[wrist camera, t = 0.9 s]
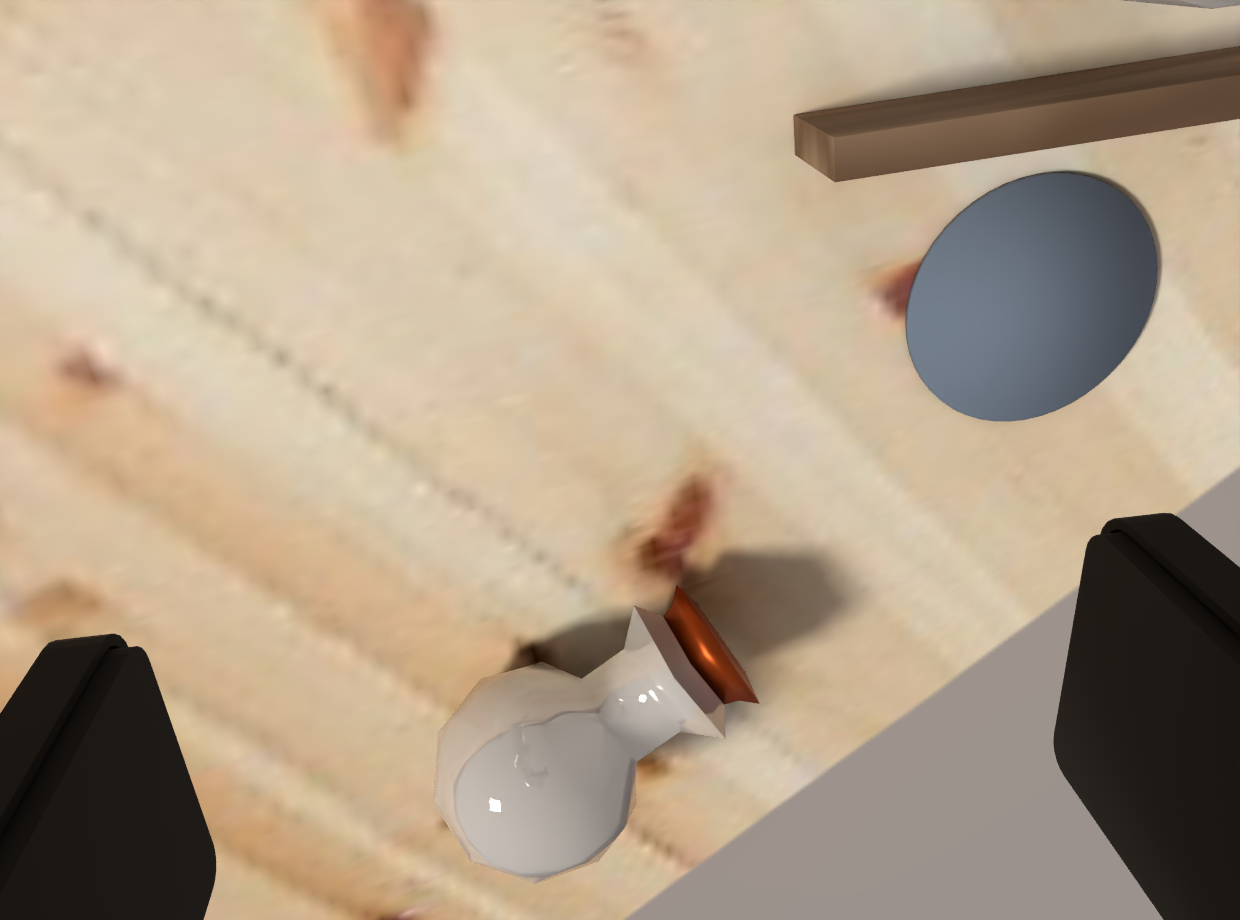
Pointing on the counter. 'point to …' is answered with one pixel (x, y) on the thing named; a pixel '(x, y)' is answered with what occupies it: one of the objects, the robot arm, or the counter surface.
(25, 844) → the robot arm
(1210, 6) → the can
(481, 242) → the counter surface
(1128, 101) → the low wall
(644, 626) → the potion bottle
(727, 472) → the counter surface
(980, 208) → the mat
